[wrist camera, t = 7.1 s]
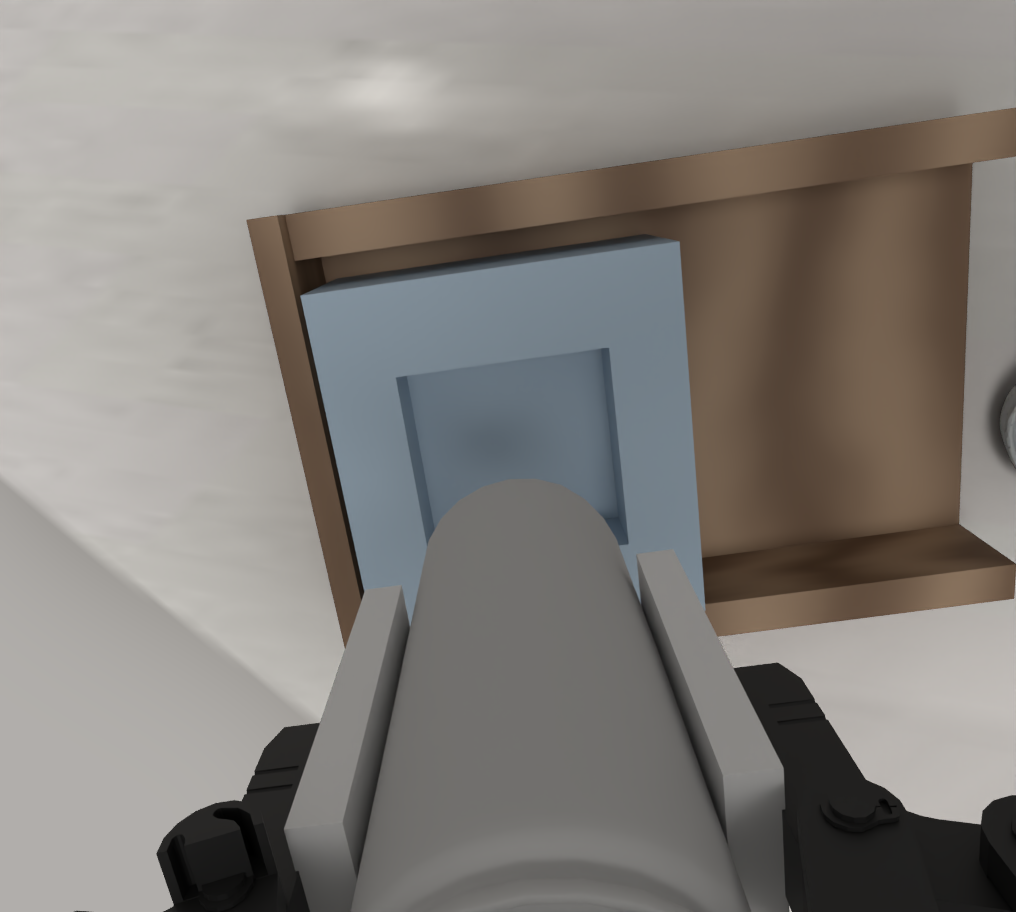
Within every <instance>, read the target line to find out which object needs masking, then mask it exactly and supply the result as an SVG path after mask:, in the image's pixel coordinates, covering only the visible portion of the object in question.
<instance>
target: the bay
mask: <svg viewBox="0 0 1016 912" xmlns="http://www.w3.org/2000/svg"><path fill="white" fill-rule="evenodd" d="M1015 156H1016V108H1010V109H1004V110H997V111H990V112H983V113H976V114H970V115H963V116H956V117H949V118H942V119H936V120H929V121H922V122H915V123H908V124H901V125H895V126H888V127H881V128H874V129H867V130H861V131H854V132H847V133H840V134H833V135H827V136H820V137H813V138H806V139H799V140H792V141H786V142H779V143H772V144H765V145H758V146H752V147H745V148H738V149H731V150H724V151H718V152H711V153H704V154H697V155H690V156H683V157H677V158H670V159H663V160H656V161H649V162H643V163H636V164H629V165H622V166H615V167H609V168H602V169H595V170H588V171H581V172H575V173H568V174H561V175H554V176H547V177H540V178H534V179H527V180H520V181H513V182H506V183H500V184H493V185H486V186H479V187H472V188H466V189H459V190H452V191H445V192H438V193H431V194H425V195H418V196H411V197H404V198H397V199H391V200H384V201H377V202H370V203H363V204H357V205H350V206H343V207H336V208H329V209H322V210H316V211H309V212H302V213H295V214H288V215H277V216H270V217H263V218H256V219H250V220H247V225H248V229H249V233H250V238H251V242H252V246H253V251H254V255H255V259H256V264H257V268H258V273H259V277H260V281H261V286H262V290H263V294H264V299H265V303H266V307H267V312H268V316H269V320H270V325H271V329H272V333H273V338H274V342H275V346H276V351H277V355H278V359H279V364H280V368H281V373H282V377H283V381H284V386H285V390H286V394H287V399H288V403H289V407H290V412H291V416H292V420H293V425H294V429H295V433H296V438H297V442H298V446H299V451H300V455H301V459H302V464H303V468H304V473H305V477H306V481H307V486H308V490H309V494H310V499H311V503H312V507H313V512H314V516H315V520H316V525H317V529H318V533H319V538H320V542H321V546H322V551H323V555H324V559H325V564H326V568H327V573H328V577H329V581H330V586H331V590H332V594H333V599H334V603H335V607H336V612H337V616H338V620H339V625H340V629H341V633H342V638H343V642H344V646H345V648H346V645H347V642H348V639H349V636H350V633H351V631H352V628H353V625H354V622H355V619H356V616H357V613H358V610H359V607H360V604H361V601H362V598H363V595H364V588H363V583H362V579H361V574H360V569H359V565H358V560H357V556H356V551H355V546H354V542H353V537H352V532H351V528H350V523H349V519H348V514H347V509H346V505H345V500H344V495H343V491H342V486H341V482H340V477H339V472H338V468H337V463H336V458H335V454H334V449H333V445H332V440H331V435H330V431H329V426H328V421H327V417H326V412H325V408H324V403H323V398H322V394H321V389H320V384H319V380H318V375H317V371H316V366H315V361H314V357H313V352H312V347H311V343H310V338H309V333H308V329H307V324H306V320H305V315H304V310H303V306H302V301H301V295H303V294H305V293H307V292H309V291H312V290H314V289H316V288H318V287H320V286H322V285H324V284H326V283H328V282H331V281H333V280H335V279H337V278H343V277H350V276H357V275H364V274H371V273H378V272H385V271H392V270H399V269H406V268H413V267H420V266H427V265H434V264H441V263H448V262H454V261H461V260H468V259H475V258H482V257H489V256H496V255H503V254H510V253H517V252H524V251H531V250H538V249H545V248H552V247H559V246H566V245H572V244H579V243H586V242H593V241H600V240H607V239H614V238H621V237H628V236H635V235H642V234H648V235H652V236H657V237H662V238H666V239H671V240H675V241H679V242H680V256H681V270H682V284H683V298H684V313H685V327H686V341H687V355H688V369H689V383H690V398H691V412H692V426H693V440H694V454H695V469H696V483H697V497H698V511H699V525H700V539H701V554H702V568H703V582H704V596H705V610H706V611H705V613H706V615H707V617H708V619H709V621H710V623H711V625H712V627H713V629H714V631H715V633H716V635H717V637H718V636H726V635H734V634H742V633H750V632H757V631H765V630H773V629H781V628H789V627H797V626H804V625H812V624H820V623H828V622H836V621H843V620H851V619H859V618H867V617H875V616H883V615H890V614H898V613H906V612H914V611H922V610H929V609H937V608H945V607H953V606H961V605H968V604H976V603H984V602H992V601H1000V600H1008V599H1014V592H1015V576H1016V564H1015V563H1014V562H1012V561H1011V560H1010V559H1008V558H1007V557H1005V556H1004V555H1002V554H1001V553H1000V552H998V551H997V550H995V549H994V548H992V547H991V546H990V545H988V544H987V543H985V542H984V541H982V540H981V539H980V538H978V537H977V536H975V535H974V534H972V533H971V532H970V531H968V530H967V529H965V528H964V527H962V526H961V525H960V524H959V509H960V483H961V456H962V429H963V403H964V376H965V349H966V323H967V296H968V269H969V243H970V216H971V189H972V163H974V162H981V161H987V160H994V159H1001V158H1008V157H1015Z"/></svg>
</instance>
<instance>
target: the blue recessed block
mask: <svg viewBox="0 0 1016 912" xmlns="http://www.w3.org/2000/svg"><path fill="white" fill-rule="evenodd" d="M301 301H302V306H303V310H304V315H305V320H306V324H307V329H308V333H309V338H310V343H311V347H312V352H313V357H314V361H315V366H316V371H317V375H318V380H319V384H320V389H321V394H322V398H323V403H324V408H325V412H326V417H327V421H328V426H329V431H330V435H331V440H332V445H333V449H334V454H335V458H336V463H337V468H338V472H339V477H340V482H341V486H342V491H343V495H344V500H345V505H346V509H347V514H348V519H349V523H350V528H351V532H352V537H353V542H354V546H355V551H356V556H357V560H358V565H359V569H360V574H361V579H362V583H363V588H364V592H365V590H367V589H375V588H382V587H390V586H397V585H402V589H403V594H404V599H405V604H406V609H407V614H408V619H409V624H410V625H411V621H412V616H413V611H414V606H415V602H416V597H417V592H418V587H419V583H420V578H421V573H422V568H423V564H424V559H425V555H426V550H427V546H428V541H429V539H430V537H431V536H432V534H433V532H434V530H435V528H436V527H437V525H438V523H439V521H440V520H441V518H442V517H443V516H444V515H445V514H446V513H447V512H448V511H449V510H450V509H451V508H452V507H453V506H454V505H455V504H456V503H457V502H458V501H459V500H460V499H462V498H464V497H466V496H467V495H469V494H471V493H473V492H474V491H476V490H478V489H479V488H481V487H483V486H487V485H490V484H494V483H497V482H501V481H504V480H508V479H539V480H543V481H547V482H551V483H555V484H560V485H562V486H564V487H566V488H567V489H569V490H571V491H572V492H574V493H576V494H577V495H579V496H581V497H582V498H584V499H585V500H586V501H587V502H588V503H589V504H590V505H591V506H592V507H593V508H594V509H595V510H596V511H597V512H598V513H599V514H600V515H601V516H602V517H603V518H604V520H605V521H606V523H607V525H608V526H609V528H610V529H611V531H612V533H613V534H614V536H615V537H616V539H617V542H618V545H619V547H620V550H621V553H622V556H623V558H624V561H625V564H626V566H627V569H628V572H629V574H630V577H631V580H632V582H633V585H634V588H635V590H636V593H637V596H638V598H639V601H640V604H641V598H640V588H639V578H638V567H637V557H636V554H640V553H648V552H655V551H663V550H670V549H673V550H674V552H675V554H676V556H677V558H678V560H679V562H680V564H681V566H682V568H683V569H684V571H685V573H686V575H687V577H688V579H689V581H690V583H691V585H692V587H693V589H694V591H695V593H696V595H697V597H698V599H699V601H700V603H701V605H702V607H703V609H704V611H706V610H705V596H704V582H703V568H702V554H701V539H700V525H699V511H698V497H697V483H696V469H695V454H694V440H693V426H692V412H691V398H690V383H689V369H688V355H687V341H686V327H685V313H684V298H683V284H682V270H681V256H680V242H679V241H675V240H671V239H666V238H662V237H657V236H652V235H648V234H642V235H635V236H628V237H621V238H614V239H607V240H600V241H593V242H586V243H579V244H572V245H566V246H559V247H552V248H545V249H538V250H531V251H524V252H517V253H510V254H503V255H496V256H489V257H482V258H475V259H468V260H461V261H454V262H448V263H441V264H434V265H427V266H420V267H413V268H406V269H399V270H392V271H385V272H378V273H371V274H364V275H357V276H350V277H343V278H337V279H335V280H333V281H331V282H328V283H326V284H324V285H322V286H320V287H318V288H316V289H314V290H312V291H309V292H307V293H305V294H303V295H301Z"/></svg>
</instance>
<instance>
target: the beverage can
mask: <svg viewBox="0 0 1016 912" xmlns="http://www.w3.org/2000/svg"><path fill="white" fill-rule="evenodd" d="M350 912H751V909H750V906H749V903H748V901H747V898H746V895H745V892H744V889H743V887H742V884H741V881H740V878H739V875H738V872H737V870H736V867H735V864H734V861H733V858H732V856H731V853H730V850H729V847H728V844H727V841H726V839H725V836H724V833H723V830H722V827H721V825H720V822H719V819H718V816H717V813H716V811H715V808H714V805H713V802H712V799H711V796H710V794H709V791H708V788H707V785H706V782H705V780H704V777H703V774H702V771H701V768H700V765H699V763H698V760H697V757H696V754H695V751H694V749H693V746H692V743H691V740H690V737H689V734H688V732H687V729H686V726H685V723H684V720H683V718H682V715H681V712H680V709H679V706H678V704H677V701H676V698H675V695H674V693H673V690H672V687H671V684H670V681H669V679H668V676H667V673H666V670H665V668H664V665H663V662H662V659H661V657H660V654H659V651H658V649H657V646H656V643H655V641H654V638H653V635H652V633H651V630H650V627H649V625H648V622H647V619H646V617H645V614H644V611H643V609H642V606H641V604H640V601H639V598H638V596H637V593H636V590H635V588H634V585H633V582H632V580H631V577H630V574H629V572H628V569H627V566H626V564H625V561H624V558H623V556H622V553H621V550H620V547H619V545H618V542H617V539H616V537H615V536H614V534H613V533H612V531H611V529H610V528H609V526H608V525H607V523H606V521H605V520H604V518H603V517H602V516H601V515H600V514H599V513H598V512H597V511H596V510H595V509H594V508H593V507H592V506H591V505H590V504H589V503H588V502H587V501H586V500H585V499H584V498H582V497H581V496H579V495H577V494H576V493H574V492H572V491H571V490H569V489H567V488H566V487H564V486H562V485H560V484H555V483H551V482H547V481H543V480H539V479H508V480H504V481H501V482H497V483H494V484H490V485H487V486H483V487H481V488H479V489H478V490H476V491H474V492H473V493H471V494H469V495H467V496H466V497H464V498H462V499H460V500H459V501H458V502H457V503H456V504H455V505H454V506H453V507H452V508H451V509H450V510H449V511H448V512H447V513H446V514H445V515H444V516H443V517H442V518H441V520H440V521H439V523H438V525H437V527H436V528H435V530H434V532H433V534H432V536H431V537H430V539H429V541H428V546H427V550H426V555H425V559H424V564H423V568H422V573H421V578H420V583H419V587H418V592H417V597H416V602H415V606H414V611H413V616H412V621H411V625H410V630H409V635H408V640H407V644H406V649H405V654H404V659H403V663H402V668H401V673H400V678H399V682H398V687H397V692H396V697H395V701H394V706H393V711H392V716H391V720H390V725H389V730H388V735H387V739H386V744H385V749H384V754H383V758H382V763H381V768H380V773H379V777H378V782H377V787H376V791H375V796H374V801H373V806H372V810H371V815H370V820H369V825H368V829H367V834H366V839H365V844H364V848H363V853H362V858H361V863H360V867H359V872H358V877H357V882H356V886H355V891H354V896H353V901H352V905H351V910H350Z"/></svg>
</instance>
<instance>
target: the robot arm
mask: <svg viewBox="0 0 1016 912" xmlns="http://www.w3.org/2000/svg"><path fill="white" fill-rule="evenodd" d="M636 557H637V567H638V578H639V588H640V598H641V606H642V609H643V611H644V614H645V617H646V619H647V622H648V625H649V627H650V630H651V633H652V635H653V638H654V641H655V643H656V646H657V649H658V651H659V654H660V657H661V659H662V662H663V665H664V668H665V670H666V673H667V676H668V679H669V681H670V684H671V687H672V690H673V693H674V695H675V698H676V701H677V704H678V706H679V709H680V712H681V715H682V718H683V720H684V723H685V726H686V729H687V732H688V734H689V737H690V740H691V743H692V746H693V749H694V751H695V754H696V757H697V760H698V763H699V765H700V768H701V771H702V774H703V777H704V780H705V782H706V785H707V788H708V791H709V794H710V796H711V799H712V802H713V805H714V808H715V811H716V813H717V816H718V819H719V822H720V825H721V827H722V830H723V833H724V836H725V839H726V841H727V844H728V847H729V850H730V853H731V856H732V858H733V861H734V864H735V867H736V870H737V872H738V875H739V878H740V881H741V884H742V887H743V889H744V892H745V895H746V898H747V901H748V903H749V906H750V909H751V912H789V906H790V908H791V911H792V912H1016V795H1011V796H1007V797H1004V798H1001V799H997V800H994V801H992V802H991V803H990V804H989V805H988V806H987V807H986V808H985V809H984V810H983V813H982V821H981V825H980V824H972V823H964V822H956V821H947V820H939V819H934V818H929V817H924V816H920V815H917V814H914V813H911V812H909V811H906V810H905V808H904V806H903V805H902V803H901V801H900V800H899V799H898V798H896V797H895V796H894V795H893V794H891V793H890V792H889V791H888V790H886V789H885V788H883V787H881V786H879V785H876V784H874V783H872V782H869V781H867V780H866V779H865V778H864V776H863V774H862V773H861V771H860V770H859V768H858V767H857V765H856V763H855V762H854V760H853V759H852V757H851V756H850V754H849V752H848V751H847V749H846V748H845V746H844V745H843V743H842V741H841V740H840V738H839V737H838V735H837V734H836V732H835V730H834V729H833V727H832V726H831V724H830V723H829V721H828V720H826V718H825V715H824V713H823V712H822V710H821V708H820V707H819V705H818V704H817V703H815V700H814V697H813V696H812V694H811V693H810V691H809V690H808V688H807V686H806V685H805V683H804V682H803V680H802V679H801V678H800V677H798V676H797V675H796V674H794V673H793V672H791V671H790V670H788V669H787V668H785V667H784V666H782V665H781V664H779V663H771V664H763V665H755V666H747V667H739V668H733V667H732V665H731V663H730V661H729V659H728V657H727V655H726V653H725V651H724V649H723V647H722V645H721V643H720V641H719V639H718V637H717V635H716V633H715V631H714V629H713V627H712V625H711V623H710V621H709V619H708V617H707V615H706V613H705V611H704V609H703V607H702V605H701V603H700V601H699V599H698V597H697V595H696V593H695V591H694V589H693V587H692V585H691V583H690V581H689V579H688V577H687V575H686V573H685V571H684V569H683V568H682V566H681V564H680V562H679V560H678V558H677V556H676V554H675V552H674V550H673V549H670V550H663V551H655V552H648V553H640V554H636ZM409 630H410V624H409V619H408V614H407V609H406V604H405V599H404V594H403V589H402V585H397V586H390V587H382V588H375V589H367V590H365V592H364V595H363V598H362V601H361V604H360V607H359V610H358V613H357V616H356V619H355V622H354V625H353V628H352V631H351V633H350V636H349V639H348V642H347V645H346V648H345V651H344V654H343V657H342V660H341V663H340V666H339V669H338V672H337V675H336V678H335V681H334V683H333V686H332V689H331V692H330V695H329V698H328V701H327V704H326V707H325V710H324V713H323V716H322V719H321V722H320V723H315V724H307V725H300V726H291V727H284V728H283V729H282V730H281V731H280V733H279V734H278V735H277V736H276V737H275V738H274V739H273V740H272V741H271V742H270V743H269V744H268V745H267V746H266V747H265V748H264V750H263V753H262V755H261V757H260V760H259V762H258V765H257V767H256V769H255V775H254V776H252V778H251V781H250V783H249V785H248V788H247V794H245V795H244V797H243V799H242V801H235V800H234V801H227V802H221V803H215V804H213V805H210V806H208V807H205V808H203V809H200V810H198V811H195V812H194V813H192V814H191V815H190V816H188V817H186V818H185V819H184V820H182V821H181V822H179V823H178V824H177V825H176V826H175V827H174V828H173V829H172V830H171V831H170V832H169V833H168V834H167V835H166V836H165V837H164V839H163V841H162V843H161V845H160V847H159V849H158V852H157V857H158V860H159V863H160V866H161V868H162V872H163V875H164V877H165V880H166V883H167V886H168V889H169V892H170V895H171V898H172V901H173V903H174V906H173V907H172V908H170V909H168V910H166V911H164V912H350V910H351V905H352V901H353V896H354V891H355V886H356V882H357V877H358V872H359V867H360V863H361V858H362V853H363V848H364V844H365V839H366V834H367V829H368V825H369V820H370V815H371V810H372V806H373V801H374V796H375V791H376V787H377V782H378V777H379V773H380V768H381V763H382V758H383V754H384V749H385V744H386V739H387V735H388V730H389V725H390V720H391V716H392V711H393V706H394V701H395V697H396V692H397V687H398V682H399V678H400V673H401V668H402V663H403V659H404V654H405V649H406V644H407V640H408V635H409ZM75 912H86V911H75Z"/></svg>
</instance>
